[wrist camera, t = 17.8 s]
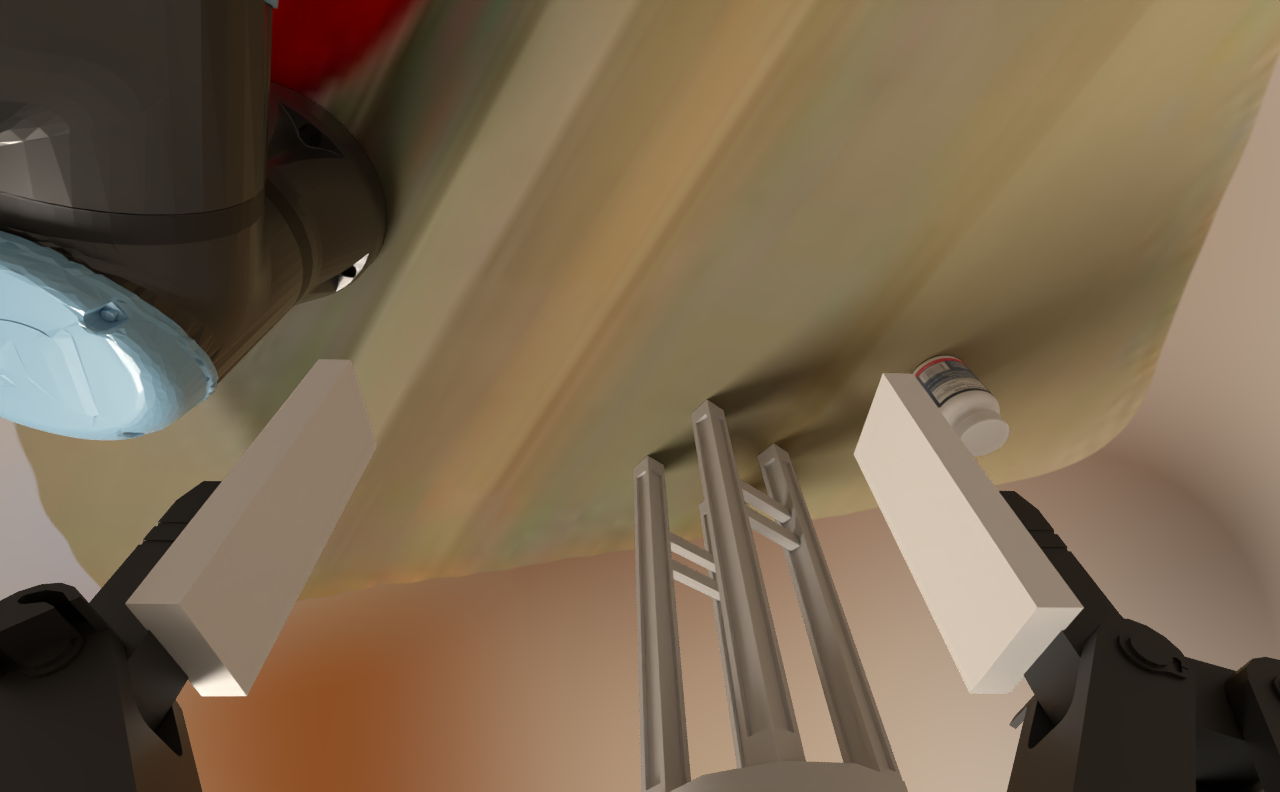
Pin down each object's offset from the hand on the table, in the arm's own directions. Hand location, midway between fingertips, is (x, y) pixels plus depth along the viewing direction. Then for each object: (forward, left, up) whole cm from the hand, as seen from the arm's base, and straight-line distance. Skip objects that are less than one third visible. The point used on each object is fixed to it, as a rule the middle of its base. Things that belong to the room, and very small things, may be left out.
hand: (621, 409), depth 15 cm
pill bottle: (+30, -20, -32) cm, 48 cm away
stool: (+10, -31, -32) cm, 46 cm away
